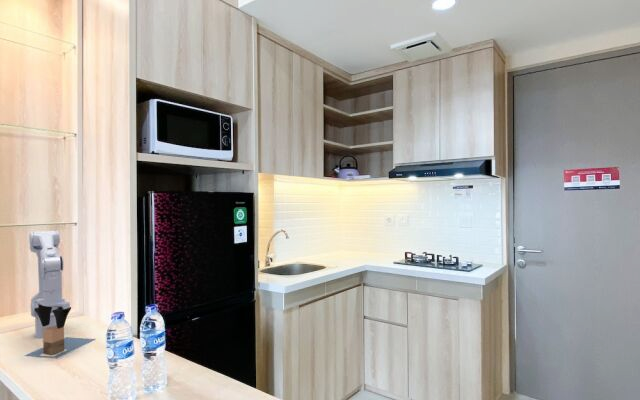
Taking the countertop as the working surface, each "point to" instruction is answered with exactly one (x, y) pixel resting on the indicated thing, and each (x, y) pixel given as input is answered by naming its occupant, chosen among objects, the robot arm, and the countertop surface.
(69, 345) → the blueprint board
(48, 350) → the walnut block
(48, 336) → the terracotta block
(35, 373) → the countertop surface
